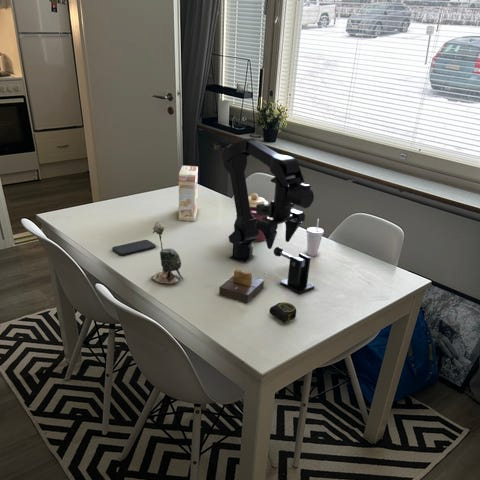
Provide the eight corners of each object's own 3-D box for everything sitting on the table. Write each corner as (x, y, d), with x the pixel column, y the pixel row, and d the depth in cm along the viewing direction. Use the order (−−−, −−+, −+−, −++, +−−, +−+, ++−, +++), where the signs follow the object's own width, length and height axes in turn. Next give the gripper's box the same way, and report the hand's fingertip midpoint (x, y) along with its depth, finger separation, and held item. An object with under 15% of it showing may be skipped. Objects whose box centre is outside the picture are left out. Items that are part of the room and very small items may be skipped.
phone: (157, 245, 189) (121, 254, 181) (157, 247, 190) (121, 256, 181) (146, 239, 194) (110, 247, 185) (146, 241, 194) (111, 249, 186)
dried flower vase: (170, 290, 161) (169, 230, 151) (147, 278, 168) (145, 220, 157) (189, 282, 167) (189, 224, 156) (166, 271, 173) (165, 214, 163)
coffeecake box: (194, 221, 216) (195, 175, 206) (178, 220, 216) (177, 174, 206) (197, 209, 229) (198, 166, 219) (182, 208, 229) (181, 165, 219)
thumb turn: (233, 282, 162) (234, 270, 160) (235, 280, 163) (236, 268, 161) (248, 286, 160) (249, 274, 158) (251, 284, 161) (251, 272, 159)
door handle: (271, 255, 171) (272, 246, 169) (278, 253, 173) (278, 244, 171) (299, 269, 163) (300, 260, 161) (305, 266, 165) (307, 257, 163)
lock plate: (247, 303, 157) (248, 294, 155) (219, 295, 160) (219, 286, 159) (263, 288, 166) (264, 279, 165) (236, 280, 170) (236, 272, 168)
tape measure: (267, 315, 151) (268, 304, 149) (285, 310, 154) (286, 299, 153) (281, 326, 146) (283, 315, 144) (300, 320, 150) (301, 309, 148)
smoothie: (319, 258, 190) (325, 222, 182) (302, 256, 191) (307, 220, 183) (320, 251, 195) (326, 216, 188) (304, 249, 196) (308, 214, 189)
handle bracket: (279, 284, 169) (283, 254, 164) (294, 279, 173) (298, 249, 168) (299, 295, 164) (303, 264, 158) (314, 289, 168) (318, 259, 162)
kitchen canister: (230, 238, 202) (232, 194, 193) (242, 228, 212) (244, 186, 203) (260, 244, 198) (264, 200, 189) (271, 234, 208) (275, 191, 199)
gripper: (282, 187, 171) (277, 231, 179) (244, 198, 159) (241, 244, 167) (308, 196, 165) (302, 241, 173) (271, 207, 153) (267, 255, 161)
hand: (278, 245), depth 169 cm, fingers open, 9 cm apart
